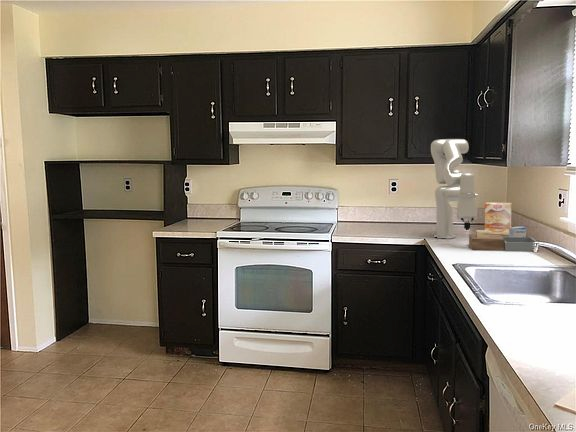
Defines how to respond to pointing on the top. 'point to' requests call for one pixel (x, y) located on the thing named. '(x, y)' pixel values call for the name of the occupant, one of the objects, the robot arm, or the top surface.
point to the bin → (518, 243)
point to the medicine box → (517, 231)
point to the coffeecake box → (498, 218)
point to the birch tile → (482, 233)
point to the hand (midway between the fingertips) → (467, 229)
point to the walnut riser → (487, 242)
